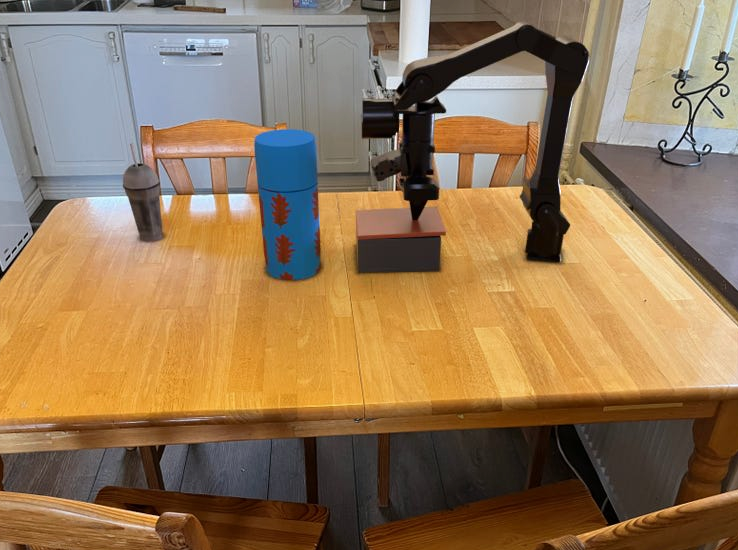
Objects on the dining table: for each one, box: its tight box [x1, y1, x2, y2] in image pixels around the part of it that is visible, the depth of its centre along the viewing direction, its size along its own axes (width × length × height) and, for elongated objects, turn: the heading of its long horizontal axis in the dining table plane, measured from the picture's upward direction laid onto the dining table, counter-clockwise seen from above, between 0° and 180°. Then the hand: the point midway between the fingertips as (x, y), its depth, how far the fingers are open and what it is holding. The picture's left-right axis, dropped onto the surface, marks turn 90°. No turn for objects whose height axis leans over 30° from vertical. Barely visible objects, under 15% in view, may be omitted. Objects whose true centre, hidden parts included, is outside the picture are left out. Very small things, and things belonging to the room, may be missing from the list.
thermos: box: [253, 128, 322, 281], centre depth 126 cm, size 11×11×25 cm
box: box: [355, 220, 442, 274], centre depth 135 cm, size 16×13×7 cm
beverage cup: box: [122, 142, 163, 242], centre depth 140 cm, size 7×7×20 cm
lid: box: [355, 205, 447, 240], centre depth 133 cm, size 16×13×1 cm
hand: (414, 219), depth 132 cm, fingers closed, pressing on lid
